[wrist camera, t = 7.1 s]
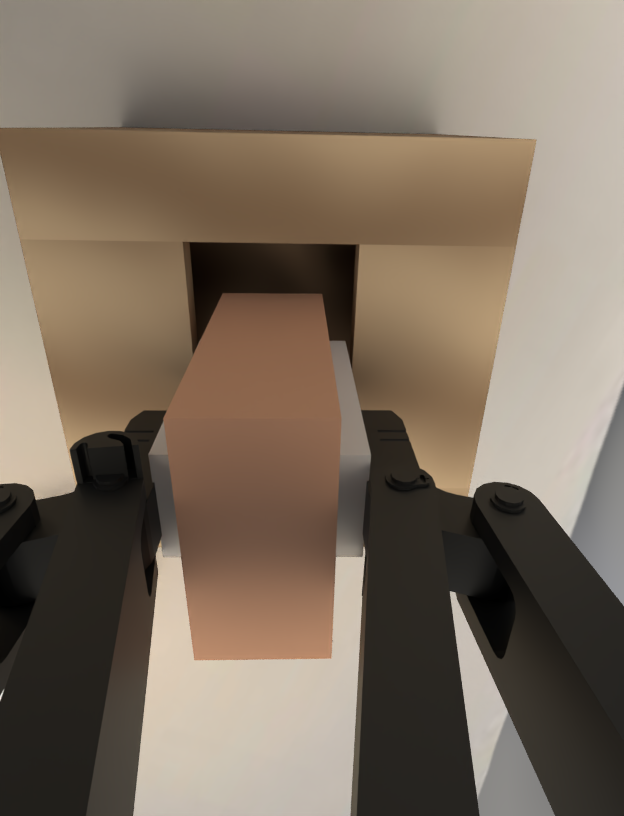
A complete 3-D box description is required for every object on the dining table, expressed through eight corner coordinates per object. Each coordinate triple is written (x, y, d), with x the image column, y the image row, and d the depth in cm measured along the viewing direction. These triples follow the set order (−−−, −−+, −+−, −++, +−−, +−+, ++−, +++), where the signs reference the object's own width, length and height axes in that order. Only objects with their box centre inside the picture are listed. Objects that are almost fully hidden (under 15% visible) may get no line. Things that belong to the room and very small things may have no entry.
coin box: (120, 127, 23) (-6, 128, 14) (438, 134, 24) (536, 139, 14) (157, 410, 30) (90, 547, 20) (406, 411, 30) (458, 546, 21)
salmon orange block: (222, 293, 16) (163, 418, 9) (321, 293, 16) (342, 418, 9) (233, 461, 19) (194, 660, 12) (318, 461, 19) (331, 658, 12)
